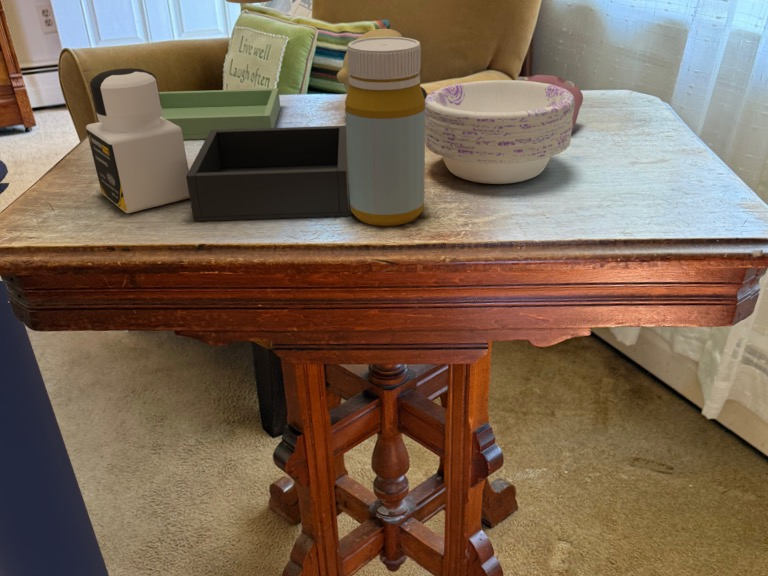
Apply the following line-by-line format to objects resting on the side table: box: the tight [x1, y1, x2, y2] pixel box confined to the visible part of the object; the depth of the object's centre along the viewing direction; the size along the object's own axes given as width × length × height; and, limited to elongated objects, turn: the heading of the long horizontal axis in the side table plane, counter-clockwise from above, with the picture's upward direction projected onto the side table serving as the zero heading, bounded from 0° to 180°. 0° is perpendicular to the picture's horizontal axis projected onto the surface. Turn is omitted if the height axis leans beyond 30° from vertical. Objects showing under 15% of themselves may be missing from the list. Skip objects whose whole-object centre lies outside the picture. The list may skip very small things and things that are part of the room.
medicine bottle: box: [85, 67, 190, 214], centre depth 74 cm, size 7×7×12 cm
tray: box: [159, 87, 281, 141], centre depth 98 cm, size 18×14×3 cm
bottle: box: [344, 36, 426, 227], centre depth 68 cm, size 7×7×15 cm
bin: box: [186, 125, 349, 222], centre depth 76 cm, size 15×15×4 cm
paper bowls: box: [425, 79, 575, 185], centre depth 79 cm, size 15×15×8 cm
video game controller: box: [515, 74, 584, 130], centre depth 93 cm, size 10×5×7 cm, turn 63°
